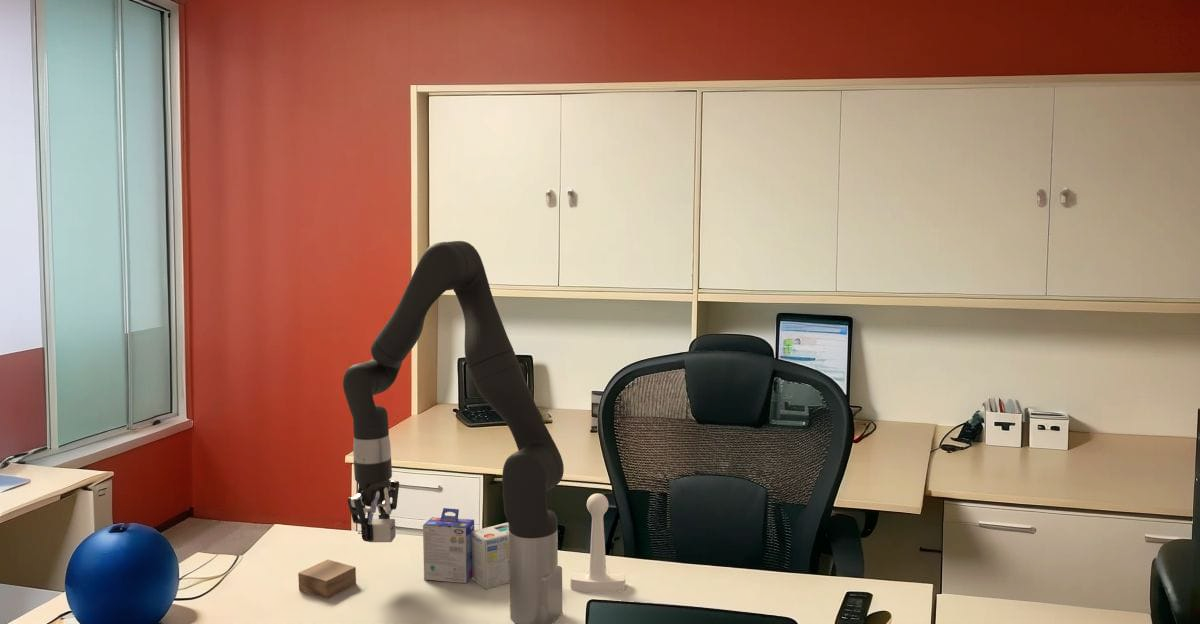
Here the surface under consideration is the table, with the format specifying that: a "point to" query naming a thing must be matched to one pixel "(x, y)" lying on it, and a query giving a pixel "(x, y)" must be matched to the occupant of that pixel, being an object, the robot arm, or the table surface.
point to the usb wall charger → (383, 530)
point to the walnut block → (327, 578)
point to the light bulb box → (491, 555)
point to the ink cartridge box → (448, 548)
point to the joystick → (597, 555)
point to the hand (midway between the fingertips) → (376, 536)
